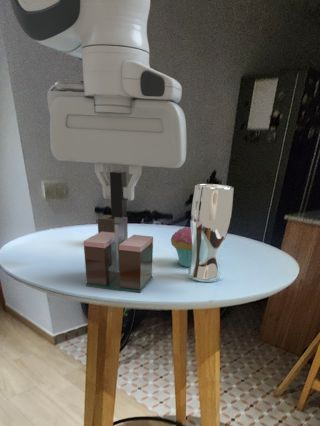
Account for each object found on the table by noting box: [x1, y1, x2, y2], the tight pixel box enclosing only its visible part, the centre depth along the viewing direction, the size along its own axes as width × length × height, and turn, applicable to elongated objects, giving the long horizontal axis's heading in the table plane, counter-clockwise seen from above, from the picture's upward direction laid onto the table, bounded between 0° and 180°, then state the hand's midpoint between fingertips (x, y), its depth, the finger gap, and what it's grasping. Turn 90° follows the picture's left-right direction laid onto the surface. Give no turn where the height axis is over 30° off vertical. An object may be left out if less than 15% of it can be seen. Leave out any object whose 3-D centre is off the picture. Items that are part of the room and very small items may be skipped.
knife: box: [109, 170, 128, 271], centre depth 60 cm, size 2×3×14 cm, turn 167°
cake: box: [83, 232, 154, 294], centre depth 63 cm, size 10×9×7 cm
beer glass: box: [187, 183, 235, 283], centre depth 65 cm, size 7×7×15 cm
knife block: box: [97, 214, 129, 241], centre depth 85 cm, size 5×5×6 cm
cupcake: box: [170, 226, 192, 268], centre depth 73 cm, size 9×8×12 cm
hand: (118, 199), depth 58 cm, fingers closed on knife, 2 cm apart
